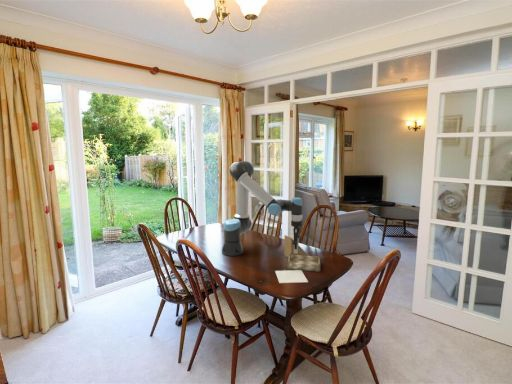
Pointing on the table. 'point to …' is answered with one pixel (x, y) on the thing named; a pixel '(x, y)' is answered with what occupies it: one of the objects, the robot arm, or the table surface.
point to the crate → (303, 263)
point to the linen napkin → (291, 276)
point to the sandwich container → (292, 248)
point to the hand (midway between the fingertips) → (296, 250)
